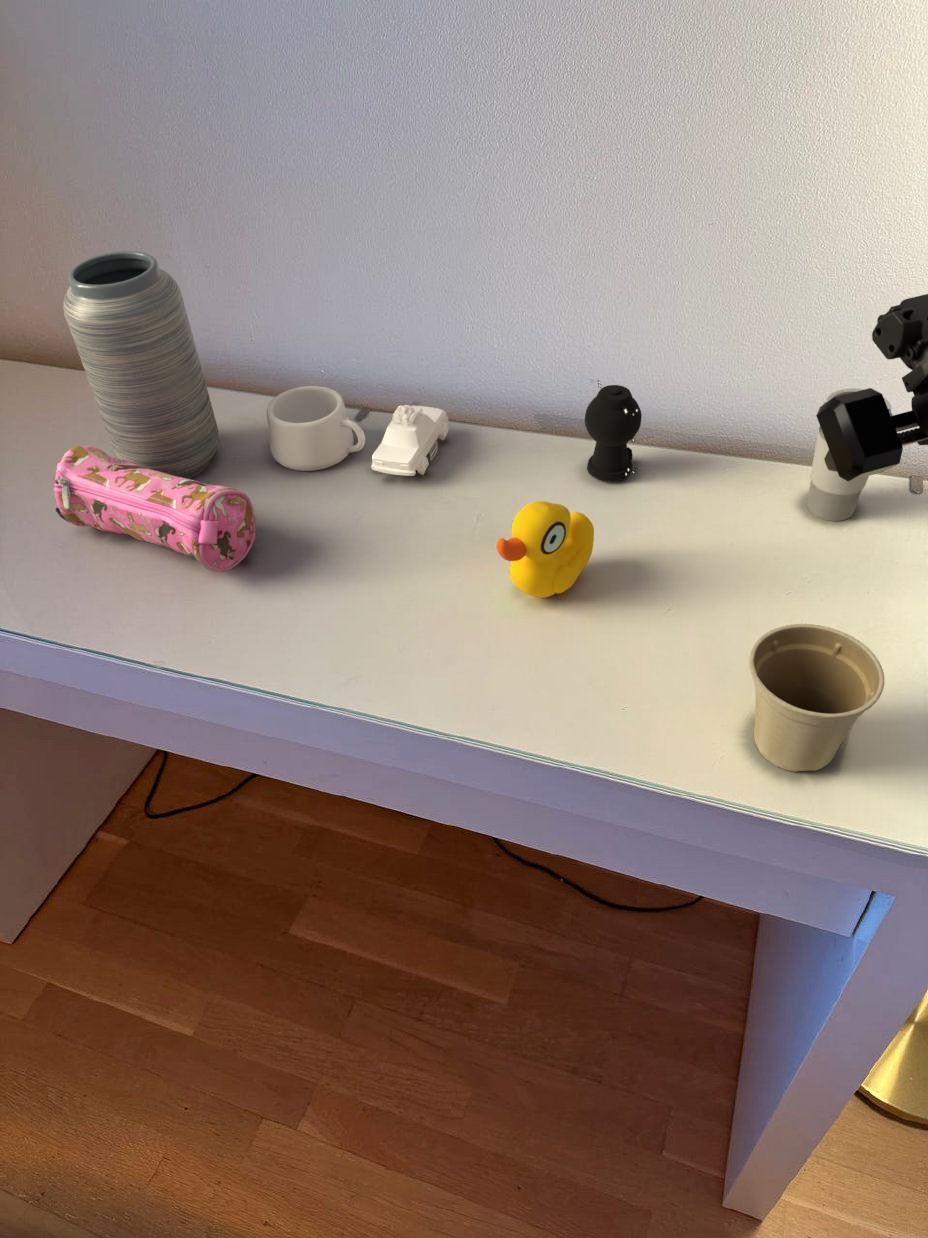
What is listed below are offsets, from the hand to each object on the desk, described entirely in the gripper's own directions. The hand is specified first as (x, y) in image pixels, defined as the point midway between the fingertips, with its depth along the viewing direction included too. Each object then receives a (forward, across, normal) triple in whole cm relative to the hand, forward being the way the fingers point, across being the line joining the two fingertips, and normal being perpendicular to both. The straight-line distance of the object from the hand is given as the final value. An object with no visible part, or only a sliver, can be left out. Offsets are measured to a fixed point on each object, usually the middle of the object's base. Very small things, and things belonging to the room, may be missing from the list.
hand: (873, 451), depth 80 cm
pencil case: (+29, +60, -16) cm, 69 cm away
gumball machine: (+24, +13, -10) cm, 29 cm away
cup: (+15, -5, +2) cm, 16 cm away
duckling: (+15, +27, +2) cm, 31 cm away
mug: (+35, +41, -24) cm, 59 cm away
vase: (+38, +58, -27) cm, 74 cm away
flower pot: (0, +16, +21) cm, 27 cm away
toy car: (+32, +32, -19) cm, 49 cm away
